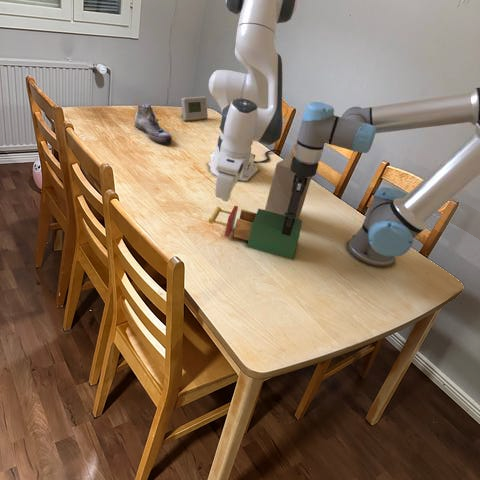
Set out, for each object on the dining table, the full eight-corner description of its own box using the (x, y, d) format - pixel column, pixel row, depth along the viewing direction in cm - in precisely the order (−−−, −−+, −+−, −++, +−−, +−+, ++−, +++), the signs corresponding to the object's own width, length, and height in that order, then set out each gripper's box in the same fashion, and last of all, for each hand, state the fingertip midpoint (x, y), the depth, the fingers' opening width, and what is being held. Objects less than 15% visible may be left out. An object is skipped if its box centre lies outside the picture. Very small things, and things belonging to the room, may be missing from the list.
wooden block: (287, 226, 151) (303, 173, 140) (262, 215, 155) (276, 162, 144) (299, 217, 159) (315, 166, 148) (275, 206, 162) (289, 155, 152)
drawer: (206, 231, 137) (210, 212, 134) (214, 218, 145) (217, 200, 141) (265, 247, 136) (270, 229, 132) (269, 234, 143) (274, 216, 140)
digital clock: (183, 121, 220) (185, 100, 214) (174, 115, 226) (177, 94, 220) (210, 121, 229) (214, 100, 223) (202, 115, 235) (205, 95, 229)
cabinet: (247, 246, 136) (252, 222, 132) (253, 231, 144) (258, 208, 140) (292, 259, 135) (299, 235, 130) (295, 242, 143) (302, 220, 139)
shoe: (175, 145, 192) (178, 118, 185) (151, 146, 186) (153, 118, 180) (154, 124, 209) (157, 98, 202) (132, 124, 203) (133, 97, 197)
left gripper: (231, 143, 137) (224, 183, 144) (215, 166, 119) (207, 210, 127) (251, 148, 136) (242, 188, 144) (237, 172, 119) (228, 216, 126)
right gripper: (297, 142, 134) (281, 203, 146) (287, 172, 113) (270, 240, 124) (321, 148, 134) (303, 209, 145) (316, 179, 113) (296, 247, 124)
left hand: (225, 199), depth 135 cm, fingers closed
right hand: (288, 223), depth 135 cm, fingers open, 13 cm apart
